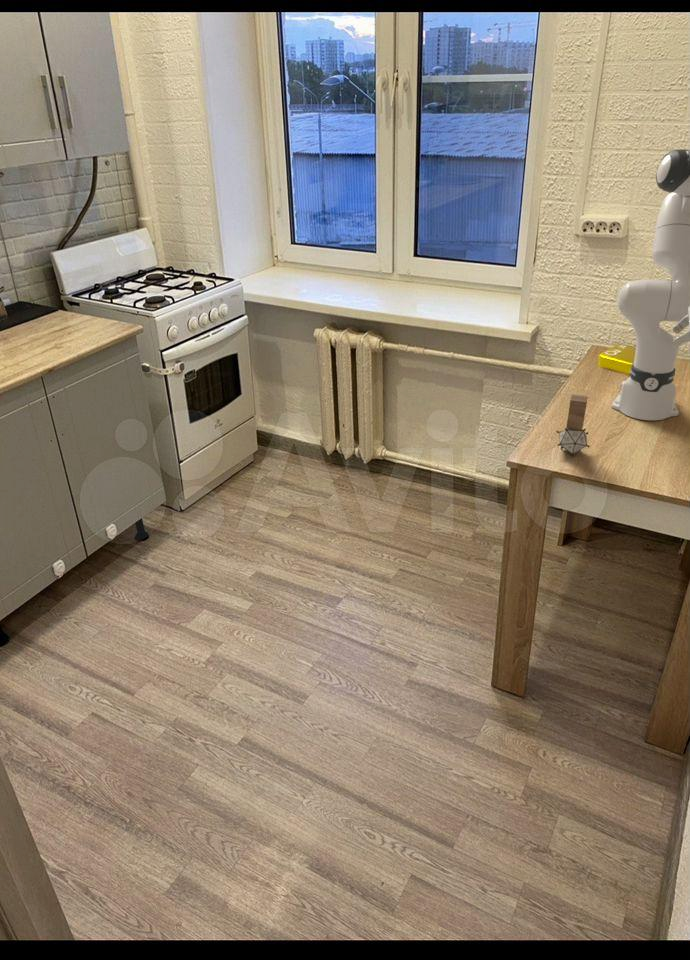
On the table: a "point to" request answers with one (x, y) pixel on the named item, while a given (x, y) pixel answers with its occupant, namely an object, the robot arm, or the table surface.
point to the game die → (572, 439)
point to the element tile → (618, 358)
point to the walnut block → (576, 411)
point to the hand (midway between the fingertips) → (674, 337)
